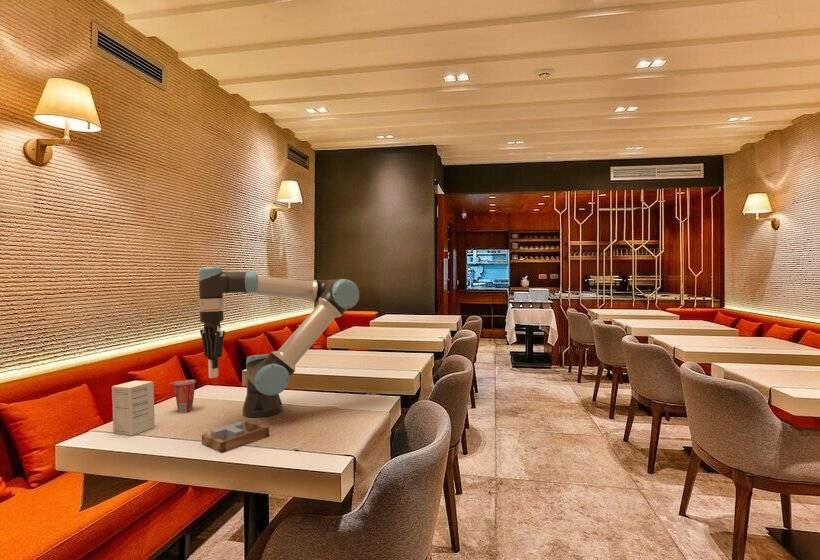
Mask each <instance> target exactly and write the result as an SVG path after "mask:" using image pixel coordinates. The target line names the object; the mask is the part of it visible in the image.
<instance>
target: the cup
mask: <svg viewBox="0 0 820 560" xmlns="http://www.w3.org/2000/svg"><path fill="white" fill-rule="evenodd" d="M196 382H197V380H196V379H182V380H176V381H172V382H170V383H168V385H173V388H174V395H175V401H176V408H177V412H178V413H179V414H186V413H190V412H192V411H193V405H194V399H195V398H194V397H195V391H196V390H195V387H196Z"/></svg>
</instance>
